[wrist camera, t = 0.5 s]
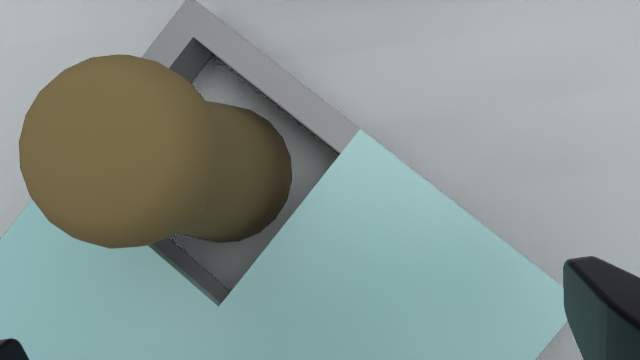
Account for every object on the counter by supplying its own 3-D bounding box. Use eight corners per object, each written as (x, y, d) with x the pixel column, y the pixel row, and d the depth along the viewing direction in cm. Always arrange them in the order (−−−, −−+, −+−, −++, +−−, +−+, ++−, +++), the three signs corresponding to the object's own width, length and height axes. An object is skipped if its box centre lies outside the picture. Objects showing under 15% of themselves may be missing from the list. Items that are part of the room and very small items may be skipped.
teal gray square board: (269, 644, 23) (255, 698, 20) (-45, 343, 25) (-92, 358, 23) (560, 291, 22) (582, 302, 20) (209, 17, 24) (189, -5, 22)
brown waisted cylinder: (274, 90, 24) (181, -8, 13) (306, 225, 23) (237, 239, 13) (146, 124, 25) (-45, 57, 14) (174, 256, 24) (-1, 295, 13)
